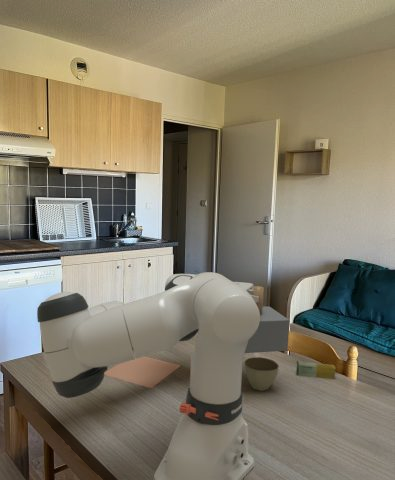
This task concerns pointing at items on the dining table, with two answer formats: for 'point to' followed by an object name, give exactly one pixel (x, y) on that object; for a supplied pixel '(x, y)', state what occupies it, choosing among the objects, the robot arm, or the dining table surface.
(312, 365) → the medication box
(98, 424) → the dining table surface
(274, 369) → the flower pot
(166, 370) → the mat
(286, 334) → the cover
